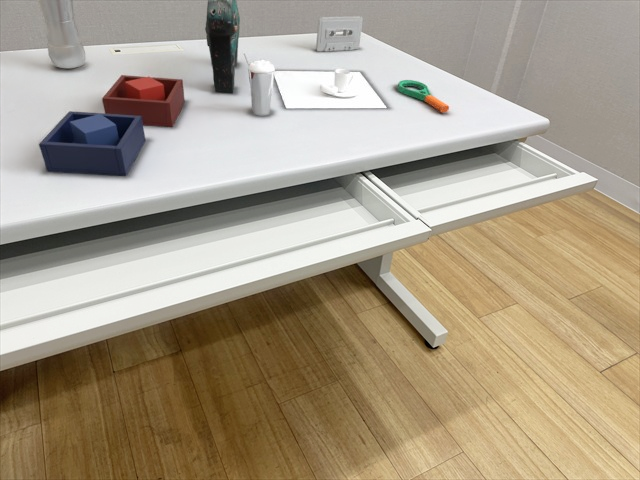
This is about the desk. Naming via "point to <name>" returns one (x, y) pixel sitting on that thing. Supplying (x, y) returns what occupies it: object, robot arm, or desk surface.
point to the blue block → (95, 131)
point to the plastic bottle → (62, 33)
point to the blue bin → (93, 147)
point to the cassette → (339, 41)
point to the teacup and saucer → (326, 89)
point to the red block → (145, 89)
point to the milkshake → (261, 86)
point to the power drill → (223, 42)
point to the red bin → (146, 102)
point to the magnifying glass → (422, 94)
